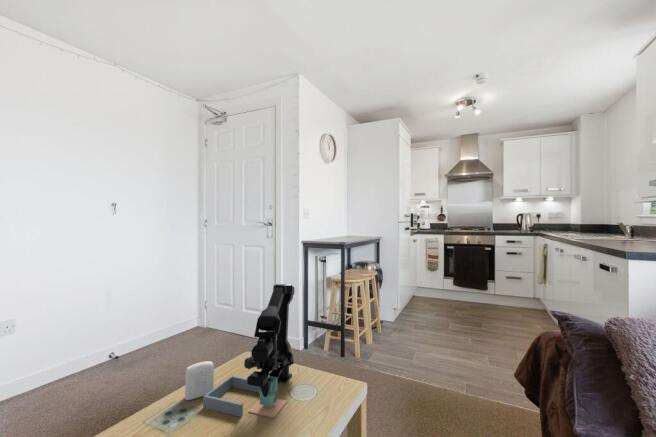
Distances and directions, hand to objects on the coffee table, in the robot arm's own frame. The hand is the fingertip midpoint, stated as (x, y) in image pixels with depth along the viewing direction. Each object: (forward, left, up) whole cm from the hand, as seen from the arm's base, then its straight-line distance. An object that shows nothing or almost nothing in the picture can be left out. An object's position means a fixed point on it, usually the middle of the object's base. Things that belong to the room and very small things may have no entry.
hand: (268, 393), depth 108 cm
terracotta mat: (0, 0, -5) cm, 5 cm away
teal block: (0, 0, -3) cm, 3 cm away
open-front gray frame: (0, -14, -5) cm, 15 cm away
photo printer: (+2, -29, -5) cm, 30 cm away
